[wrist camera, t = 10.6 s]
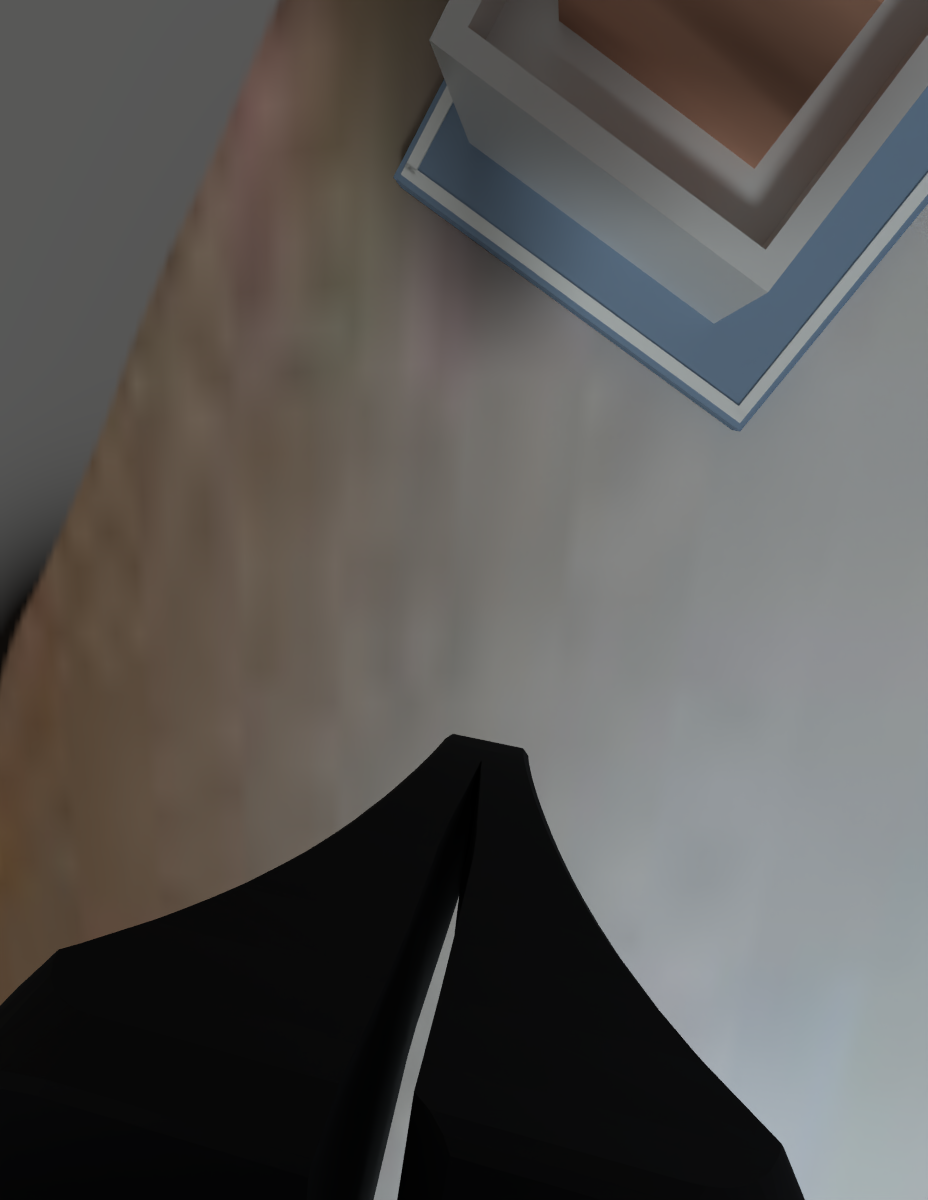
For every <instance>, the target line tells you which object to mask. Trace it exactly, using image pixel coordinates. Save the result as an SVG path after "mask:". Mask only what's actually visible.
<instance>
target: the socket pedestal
mask: <svg viewBox="0 0 928 1200" xmlns="http://www.w3.org/2000/svg"><path fill="white" fill-rule="evenodd" d="M429 41H430V43H431V46H432V49H433V51H434V54H435V56H436V59H437V61H438V64H439V67H440V69H441V72H442V74H443V77H444V79H445V82H446V84H447V87H448V90H449V92H450V95H451V97H452V100H453V102H454V105H455V108H456V110H457V113H458V115H459V118H460V120H461V123H462V125H463V128H464V131H465V133H466V136H467V138H468V141H469V143H470V144H472V145H473V146H474V147H476V148H477V149H478V150H480V151H481V152H482V153H484V154H485V155H486V156H488V157H489V158H491V159H492V160H493V161H495V162H496V163H497V164H499V165H500V166H501V167H503V168H504V169H505V170H507V171H508V172H509V173H511V174H512V175H514V176H515V177H516V178H518V179H519V180H520V181H522V182H523V183H524V184H526V185H527V186H528V187H530V188H531V189H532V190H534V191H535V192H537V193H538V194H539V195H541V196H542V197H543V198H545V199H546V200H547V201H549V202H550V203H551V204H553V205H554V206H555V207H557V208H558V209H559V210H561V211H562V212H564V213H565V214H566V215H568V216H569V217H570V218H572V219H573V220H574V221H576V222H577V223H578V224H580V225H581V226H582V227H584V228H585V229H587V230H588V231H589V232H591V233H592V234H593V235H595V236H596V237H597V238H599V239H600V240H601V241H603V242H604V243H605V244H607V245H608V246H609V247H611V248H612V249H614V250H615V251H616V252H618V253H619V254H620V255H622V256H623V257H624V258H626V259H627V260H628V261H630V262H631V263H632V264H634V265H635V266H637V267H638V268H639V269H641V270H642V271H643V272H645V273H646V274H647V275H649V276H650V277H651V278H653V279H654V280H655V281H657V282H658V283H660V284H661V285H662V286H664V287H665V288H666V289H668V290H669V291H670V292H672V293H673V294H674V295H676V296H677V297H678V298H680V299H681V300H682V301H684V302H685V303H687V304H688V305H689V306H691V307H692V308H693V309H695V310H696V311H697V312H699V313H700V314H701V315H703V316H704V317H705V318H707V319H708V320H710V321H711V322H712V323H716V322H718V321H719V320H721V319H723V318H725V317H726V316H728V315H730V314H732V313H733V312H735V311H737V310H738V309H740V308H742V307H744V306H745V305H747V304H749V303H751V302H752V301H754V300H756V299H758V298H759V297H761V296H763V295H764V294H766V293H768V292H769V290H770V289H771V288H772V287H773V285H774V284H775V283H776V281H777V280H778V279H779V277H780V276H781V275H782V274H783V272H784V271H785V270H786V268H787V267H788V266H789V265H790V263H791V262H792V261H793V259H794V258H795V257H796V255H797V254H798V253H799V252H800V250H801V249H802V248H803V246H804V245H805V244H806V243H807V241H808V240H809V239H810V237H811V236H812V235H813V233H814V232H815V231H816V230H817V228H818V227H819V226H820V224H821V223H822V222H823V221H824V219H825V218H826V217H827V215H828V214H829V213H830V211H831V210H832V209H833V208H834V206H835V205H836V204H837V202H838V201H839V200H840V199H841V197H842V196H843V195H844V193H845V192H846V191H847V190H848V188H849V187H850V186H851V184H852V183H853V182H854V180H855V179H856V178H857V177H858V175H859V174H860V173H861V171H862V170H863V169H864V168H865V166H866V165H867V164H868V162H869V161H870V160H871V158H872V157H873V156H874V155H875V153H876V152H877V151H878V149H879V148H880V147H881V146H882V144H883V143H884V142H885V140H886V139H887V138H888V136H889V135H890V134H891V133H892V131H893V130H894V129H895V127H896V126H897V125H898V124H899V122H900V121H901V120H902V118H903V117H904V116H905V114H906V113H907V112H908V111H909V109H910V108H911V107H912V105H913V104H914V103H915V102H916V100H917V99H918V98H919V96H920V95H921V94H922V92H923V91H924V90H925V89H926V87H927V86H928V0H884V1H883V3H882V4H881V5H880V7H879V8H878V9H877V10H876V12H875V13H874V14H873V16H872V17H871V18H870V20H869V21H868V22H867V23H866V25H865V26H864V27H863V29H862V30H861V31H860V33H859V34H858V35H857V36H856V38H855V39H854V40H853V42H852V43H851V44H850V46H849V47H848V48H847V49H846V51H845V52H844V53H843V55H842V56H841V57H840V58H839V60H838V61H837V62H836V64H835V65H834V66H833V68H832V69H831V70H830V71H829V73H828V74H827V75H826V77H825V78H824V79H823V81H822V82H821V83H820V84H819V86H818V87H817V88H816V90H815V91H814V92H813V94H812V95H811V96H810V97H809V99H808V100H807V101H806V103H805V104H804V105H803V106H802V108H801V109H800V110H799V112H798V113H797V114H796V116H795V117H794V118H793V119H792V121H791V122H790V123H789V125H788V126H787V127H786V129H785V130H784V131H783V132H782V134H781V135H780V136H779V138H778V139H777V140H776V142H775V143H774V144H773V145H772V147H771V148H770V149H769V151H768V152H767V153H766V154H765V156H764V157H763V158H762V160H761V161H760V162H759V164H758V165H757V166H756V167H755V169H754V168H753V167H751V166H750V165H749V164H747V163H746V162H745V161H743V160H742V159H741V158H739V157H738V156H737V155H736V154H734V153H733V152H732V151H730V150H729V149H728V148H726V147H725V146H724V145H722V144H721V143H720V142H718V141H717V140H716V139H714V138H713V137H712V136H710V135H709V134H708V133H707V132H705V131H704V130H703V129H701V128H700V127H699V126H697V125H696V124H695V123H693V122H692V121H691V120H689V119H688V118H687V117H685V116H684V115H683V114H681V113H680V112H679V111H677V110H676V109H675V108H674V107H672V106H671V105H670V104H668V103H667V102H666V101H664V100H663V99H662V98H660V97H659V96H658V95H656V94H655V93H654V92H652V91H651V90H650V89H648V88H647V87H646V86H645V85H643V84H642V83H641V82H639V81H638V80H637V79H635V78H634V77H633V76H631V75H630V74H629V73H627V72H626V71H625V70H623V69H622V68H621V67H619V66H618V65H617V64H615V63H614V62H613V61H612V60H610V59H609V58H608V57H606V56H605V55H604V54H602V53H601V52H600V51H598V50H597V49H596V48H594V47H593V46H592V45H590V44H589V43H588V42H586V41H585V40H584V39H583V38H581V37H580V36H579V35H577V34H576V33H575V32H573V31H572V30H571V29H569V28H568V27H567V26H565V25H564V24H563V23H561V22H560V21H559V9H558V0H449V1H448V3H447V5H446V7H445V9H444V11H443V13H442V15H441V17H440V19H439V21H438V23H437V25H436V27H435V29H434V31H433V33H432V35H431V37H430V39H429Z"/></svg>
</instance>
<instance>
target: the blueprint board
mask: <svg viewBox="0 0 928 1200" xmlns="http://www.w3.org/2000/svg"><path fill="white" fill-rule="evenodd" d="M394 179H395V180H396V181H397V183H398V184H399V185H400V186H401V188H403V189H404V190H405V191H407V192H408V193H409V194H411V195H412V196H413V197H415V198H416V199H418V200H419V201H420V202H422V203H423V204H424V205H426V206H427V207H429V208H430V209H431V210H433V211H434V212H435V213H437V214H438V215H439V216H441V217H442V218H444V219H445V220H446V221H448V222H449V223H450V224H452V225H453V226H454V227H456V228H457V229H459V230H460V231H461V232H463V233H464V234H465V235H467V236H468V237H469V238H471V239H472V240H474V241H475V242H476V243H478V244H479V245H480V246H482V247H483V248H484V249H486V250H487V251H489V252H490V253H491V254H493V255H494V256H495V257H497V258H498V259H499V260H501V261H502V262H504V263H505V264H506V265H508V266H509V267H510V268H512V269H513V270H515V271H516V272H517V273H519V274H520V275H521V276H523V277H524V278H525V279H527V280H528V281H530V282H531V283H532V284H534V285H535V286H536V287H538V288H539V289H540V290H542V291H543V292H545V293H546V294H547V295H549V296H550V297H551V298H553V299H554V300H555V301H557V302H558V303H560V304H561V305H562V306H564V307H565V308H566V309H568V310H569V311H570V312H572V313H573V314H575V315H576V316H577V317H579V318H580V319H581V320H583V321H584V322H585V323H587V324H588V325H590V326H591V327H592V328H594V329H595V330H596V331H598V332H599V333H601V334H602V335H603V336H605V337H606V338H607V339H609V340H610V341H611V342H613V343H614V344H616V345H617V346H618V347H620V348H621V349H622V350H624V351H625V352H626V353H628V354H629V355H631V356H632V357H633V358H635V359H636V360H637V361H639V362H640V363H641V364H643V365H644V366H646V367H647V368H648V369H650V370H651V371H652V372H654V373H655V374H656V375H658V376H659V377H661V378H662V379H663V380H665V381H666V382H667V383H669V384H670V385H671V386H673V387H674V388H676V389H677V390H678V391H680V392H681V393H682V394H684V395H685V396H687V397H688V398H689V399H691V400H692V401H693V402H695V403H696V404H697V405H699V406H700V407H702V408H703V409H704V410H706V411H707V412H708V413H710V414H711V415H712V416H714V417H715V418H717V419H718V420H719V421H721V422H722V423H723V424H725V425H726V426H727V427H729V428H730V429H732V430H735V431H741V430H742V428H743V427H744V426H745V425H746V424H747V422H748V421H749V420H750V419H751V417H752V416H753V415H754V414H755V413H756V411H757V410H758V409H759V408H760V407H761V405H762V404H763V403H764V402H765V400H766V399H767V398H768V397H769V396H770V394H771V393H772V392H773V391H774V390H775V388H776V387H777V386H778V385H779V383H780V382H781V381H782V380H783V379H784V377H785V376H786V375H787V374H788V373H789V371H790V370H791V369H792V368H793V367H794V365H795V364H796V363H797V362H798V360H799V359H800V358H801V357H802V356H803V354H804V353H805V352H806V351H807V350H808V348H809V347H810V346H811V345H812V343H813V342H814V341H815V340H816V339H817V337H818V336H819V335H820V334H821V333H822V331H823V330H824V329H825V328H826V326H827V325H828V324H829V323H830V322H831V320H832V319H833V318H834V317H835V316H836V314H837V313H838V312H839V311H840V309H841V308H842V307H843V306H844V305H845V303H846V302H847V301H848V300H849V299H850V297H851V296H852V295H853V294H854V293H855V291H856V290H857V289H858V288H859V286H860V285H861V284H862V283H863V282H864V280H865V279H866V278H867V277H868V276H869V274H870V273H871V272H872V271H873V269H874V268H875V267H876V266H877V265H878V263H879V262H880V261H881V260H882V259H883V257H884V256H885V255H886V254H887V252H888V251H889V250H890V249H891V248H892V246H893V245H894V244H895V243H896V242H897V240H898V239H899V238H900V237H901V235H902V234H903V233H904V232H905V231H906V229H907V228H908V227H909V226H910V225H911V223H912V222H913V221H914V220H915V219H916V217H917V216H918V215H919V214H920V212H921V211H922V210H923V209H924V208H925V206H926V205H927V204H928V86H927V87H926V89H925V90H924V91H923V92H922V94H921V95H920V96H919V98H918V99H917V100H916V102H915V103H914V104H913V105H912V107H911V108H910V109H909V111H908V112H907V113H906V114H905V116H904V117H903V118H902V120H901V121H900V122H899V124H898V125H897V126H896V127H895V129H894V130H893V131H892V133H891V134H890V135H889V136H888V138H887V139H886V140H885V142H884V143H883V144H882V146H881V147H880V148H879V149H878V151H877V152H876V153H875V155H874V156H873V157H872V158H871V160H870V161H869V162H868V164H867V165H866V166H865V168H864V169H863V170H862V171H861V173H860V174H859V175H858V177H857V178H856V179H855V180H854V182H853V183H852V184H851V186H850V187H849V188H848V190H847V191H846V192H845V193H844V195H843V196H842V197H841V199H840V200H839V201H838V202H837V204H836V205H835V206H834V208H833V209H832V210H831V211H830V213H829V214H828V215H827V217H826V218H825V219H824V221H823V222H822V223H821V224H820V226H819V227H818V228H817V230H816V231H815V232H814V233H813V235H812V236H811V237H810V239H809V240H808V241H807V243H806V244H805V245H804V246H803V248H802V249H801V250H800V252H799V253H798V254H797V255H796V257H795V258H794V259H793V261H792V262H791V263H790V265H789V266H788V267H787V268H786V270H785V271H784V272H783V274H782V275H781V276H780V277H779V279H778V280H777V281H776V283H775V284H774V285H773V287H772V288H771V289H770V290H769V292H768V293H766V294H764V295H763V296H761V297H759V298H758V299H756V300H754V301H752V302H751V303H749V304H747V305H745V306H744V307H742V308H740V309H738V310H737V311H735V312H733V313H732V314H730V315H728V316H726V317H725V318H723V319H721V320H719V321H718V322H716V323H712V322H711V321H710V320H708V319H707V318H705V317H704V316H703V315H701V314H700V313H699V312H697V311H696V310H695V309H693V308H692V307H691V306H689V305H688V304H687V303H685V302H684V301H682V300H681V299H680V298H678V297H677V296H676V295H674V294H673V293H672V292H670V291H669V290H668V289H666V288H665V287H664V286H662V285H661V284H660V283H658V282H657V281H655V280H654V279H653V278H651V277H650V276H649V275H647V274H646V273H645V272H643V271H642V270H641V269H639V268H638V267H637V266H635V265H634V264H632V263H631V262H630V261H628V260H627V259H626V258H624V257H623V256H622V255H620V254H619V253H618V252H616V251H615V250H614V249H612V248H611V247H609V246H608V245H607V244H605V243H604V242H603V241H601V240H600V239H599V238H597V237H596V236H595V235H593V234H592V233H591V232H589V231H588V230H587V229H585V228H584V227H582V226H581V225H580V224H578V223H577V222H576V221H574V220H573V219H572V218H570V217H569V216H568V215H566V214H565V213H564V212H562V211H561V210H559V209H558V208H557V207H555V206H554V205H553V204H551V203H550V202H549V201H547V200H546V199H545V198H543V197H542V196H541V195H539V194H538V193H537V192H535V191H534V190H532V189H531V188H530V187H528V186H527V185H526V184H524V183H523V182H522V181H520V180H519V179H518V178H516V177H515V176H514V175H512V174H511V173H509V172H508V171H507V170H505V169H504V168H503V167H501V166H500V165H499V164H497V163H496V162H495V161H493V160H492V159H491V158H489V157H488V156H486V155H485V154H484V153H482V152H481V151H480V150H478V149H477V148H476V147H474V146H473V145H472V144H470V143H469V141H468V138H467V136H466V133H465V131H464V128H463V125H462V123H461V120H460V118H459V115H458V113H457V110H456V108H455V105H454V102H453V100H452V97H451V95H450V92H449V90H448V87H447V84H446V82H445V79H444V80H443V82H442V84H441V86H440V88H439V90H438V92H437V94H436V96H435V98H434V100H433V102H432V104H431V106H430V107H429V109H428V111H427V113H426V115H425V117H424V119H423V121H422V123H421V125H420V127H419V129H418V131H417V133H416V135H415V136H414V138H413V140H412V142H411V144H410V146H409V148H408V150H407V152H406V154H405V156H404V158H403V160H402V162H401V164H400V166H399V167H398V169H397V171H396V173H395V175H394Z"/></svg>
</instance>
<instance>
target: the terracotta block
mask: <svg viewBox="0 0 928 1200" xmlns="http://www.w3.org/2000/svg"><path fill="white" fill-rule="evenodd" d="M883 1H884V0H558V9H559V21H560V22H561V23H563V24H564V25H565V26H567V27H568V28H569V29H571V30H572V31H573V32H575V33H576V34H577V35H579V36H580V37H581V38H583V39H584V40H585V41H586V42H588V43H589V44H590V45H592V46H593V47H594V48H596V49H597V50H598V51H600V52H601V53H602V54H604V55H605V56H606V57H608V58H609V59H610V60H612V61H613V62H614V63H615V64H617V65H618V66H619V67H621V68H622V69H623V70H625V71H626V72H627V73H629V74H630V75H631V76H633V77H634V78H635V79H637V80H638V81H639V82H641V83H642V84H643V85H645V86H646V87H647V88H648V89H650V90H651V91H652V92H654V93H655V94H656V95H658V96H659V97H660V98H662V99H663V100H664V101H666V102H667V103H668V104H670V105H671V106H672V107H674V108H675V109H676V110H677V111H679V112H680V113H681V114H683V115H684V116H685V117H687V118H688V119H689V120H691V121H692V122H693V123H695V124H696V125H697V126H699V127H700V128H701V129H703V130H704V131H705V132H707V133H708V134H709V135H710V136H712V137H713V138H714V139H716V140H717V141H718V142H720V143H721V144H722V145H724V146H725V147H726V148H728V149H729V150H730V151H732V152H733V153H734V154H736V155H737V156H738V157H739V158H741V159H742V160H743V161H745V162H746V163H747V164H749V165H750V166H751V167H753V168H754V169H755V167H756V166H757V165H758V164H759V162H760V161H761V160H762V158H763V157H764V156H765V154H766V153H767V152H768V151H769V149H770V148H771V147H772V145H773V144H774V143H775V142H776V140H777V139H778V138H779V136H780V135H781V134H782V132H783V131H784V130H785V129H786V127H787V126H788V125H789V123H790V122H791V121H792V119H793V118H794V117H795V116H796V114H797V113H798V112H799V110H800V109H801V108H802V106H803V105H804V104H805V103H806V101H807V100H808V99H809V97H810V96H811V95H812V94H813V92H814V91H815V90H816V88H817V87H818V86H819V84H820V83H821V82H822V81H823V79H824V78H825V77H826V75H827V74H828V73H829V71H830V70H831V69H832V68H833V66H834V65H835V64H836V62H837V61H838V60H839V58H840V57H841V56H842V55H843V53H844V52H845V51H846V49H847V48H848V47H849V46H850V44H851V43H852V42H853V40H854V39H855V38H856V36H857V35H858V34H859V33H860V31H861V30H862V29H863V27H864V26H865V25H866V23H867V22H868V21H869V20H870V18H871V17H872V16H873V14H874V13H875V12H876V10H877V9H878V8H879V7H880V5H881V4H882V3H883Z"/></svg>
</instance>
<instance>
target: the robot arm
mask: <svg viewBox="0 0 928 1200" xmlns="http://www.w3.org/2000/svg"><path fill="white" fill-rule="evenodd" d="M458 897H459V902H458V910H457V919H456V927H455V936H454V940H453V944H452V948H451V952H450V956H449V960H448V964H447V968H446V972H445V976H444V980H443V984H442V988H441V992H440V996H439V1000H438V1003H437V1007H436V1011H435V1015H434V1019H433V1022H432V1026H431V1030H430V1034H429V1038H428V1042H427V1045H426V1049H425V1053H424V1057H423V1061H422V1064H421V1068H420V1072H419V1076H418V1079H417V1083H416V1087H415V1090H414V1096H413V1102H412V1109H411V1115H410V1122H409V1128H408V1135H407V1141H406V1147H405V1154H404V1160H403V1167H402V1173H401V1180H400V1186H399V1193H398V1199H397V1200H805V1199H804V1197H803V1194H802V1192H801V1189H800V1187H799V1184H798V1182H797V1179H796V1177H795V1174H794V1172H793V1169H792V1167H791V1164H790V1162H789V1160H788V1157H787V1155H786V1152H785V1150H784V1147H783V1146H782V1144H781V1143H780V1142H779V1141H778V1140H777V1139H776V1137H775V1136H774V1135H773V1134H772V1133H771V1132H770V1131H769V1130H768V1129H767V1128H766V1127H765V1126H764V1125H763V1124H762V1123H761V1122H760V1121H759V1120H758V1119H757V1118H756V1117H755V1116H754V1115H753V1114H752V1112H751V1111H750V1110H749V1109H748V1108H747V1107H746V1106H745V1105H744V1104H743V1103H742V1102H741V1101H740V1100H739V1099H738V1098H737V1097H736V1096H735V1095H734V1094H733V1093H732V1092H731V1091H730V1090H729V1088H728V1087H727V1086H726V1085H725V1084H724V1083H723V1082H722V1081H721V1080H720V1079H719V1078H718V1077H717V1076H716V1075H715V1074H714V1073H713V1072H712V1071H711V1070H710V1069H709V1068H708V1067H707V1066H706V1064H705V1063H704V1062H703V1061H702V1060H701V1059H700V1058H699V1057H698V1056H697V1054H696V1053H695V1052H694V1051H693V1050H692V1049H691V1048H690V1046H689V1045H688V1044H687V1043H686V1042H685V1040H684V1039H683V1038H682V1037H681V1036H680V1035H679V1033H678V1032H677V1031H676V1030H675V1029H674V1027H673V1026H672V1025H671V1024H670V1023H669V1022H668V1020H667V1019H666V1018H665V1017H664V1016H663V1014H662V1013H661V1012H660V1011H659V1010H658V1008H657V1007H656V1006H655V1004H654V1003H653V1002H652V1000H651V999H650V998H649V996H648V995H647V994H646V992H645V991H644V989H643V988H642V987H641V985H640V984H639V983H638V981H637V980H636V979H635V977H634V976H633V975H632V973H631V972H630V971H629V969H628V968H627V967H626V965H625V964H624V963H623V961H622V960H621V959H620V957H619V956H618V954H617V953H616V951H615V950H614V948H613V946H612V945H611V943H610V942H609V940H608V939H607V937H606V936H605V934H604V933H603V931H602V929H601V928H600V926H599V925H598V923H597V921H596V920H595V918H594V916H593V915H592V913H591V911H590V910H589V908H588V906H587V905H586V903H585V901H584V899H583V898H582V896H581V894H580V892H579V890H578V888H577V887H576V885H575V883H574V881H573V879H572V877H571V875H570V873H569V871H568V869H567V867H566V865H565V863H564V861H563V859H562V856H561V854H560V852H559V850H558V848H557V846H556V843H555V841H554V839H553V836H552V834H551V831H550V829H549V826H548V824H547V821H546V819H545V816H544V813H543V811H542V808H541V805H540V802H539V800H538V797H537V793H536V790H535V787H534V783H533V780H532V776H531V771H530V766H529V760H528V755H527V753H526V752H525V750H524V749H523V748H519V747H514V746H509V745H504V744H499V743H494V742H490V741H485V740H480V739H475V738H470V737H466V736H461V735H456V734H452V735H450V736H449V737H447V738H446V739H445V740H444V741H443V742H442V743H441V744H440V745H439V747H438V748H437V749H436V750H435V751H434V752H433V753H432V754H431V755H430V756H429V757H428V758H427V759H426V760H425V761H424V762H423V763H422V764H421V765H420V766H419V767H418V768H417V769H416V770H415V771H414V772H412V773H411V774H410V775H409V776H408V777H407V778H406V779H404V780H403V781H402V782H401V783H400V784H399V785H398V786H397V787H395V788H394V789H393V790H392V791H391V792H390V793H388V794H387V795H386V796H385V797H384V798H382V799H381V800H380V801H378V802H377V803H376V804H374V805H373V806H372V807H371V808H369V809H368V810H367V811H365V812H364V813H363V814H361V815H360V816H359V817H358V818H356V819H355V820H354V821H352V822H351V823H349V824H348V825H346V826H345V827H343V828H342V829H341V830H339V831H338V832H336V833H335V834H333V835H332V836H330V837H329V838H327V839H325V840H324V841H322V842H321V843H319V844H317V845H316V846H314V847H312V848H311V849H309V850H308V851H306V852H304V853H302V854H301V855H299V856H297V857H295V858H293V859H292V860H290V861H288V862H286V863H284V864H282V865H280V866H278V867H276V868H274V869H272V870H270V871H268V872H267V873H265V874H263V875H261V876H259V877H257V878H255V879H253V880H251V881H249V882H247V883H245V884H242V885H240V886H238V887H236V888H233V889H231V890H229V891H226V892H224V893H222V894H219V895H217V896H215V897H212V898H210V899H208V900H205V901H202V902H200V903H197V904H195V905H192V906H190V907H187V908H185V909H182V910H180V911H177V912H174V913H172V914H169V915H166V916H163V917H161V918H158V919H155V920H152V921H149V922H146V923H143V924H140V925H137V926H134V927H130V928H127V929H124V930H121V931H118V932H115V933H112V934H109V935H105V936H102V937H99V938H96V939H93V940H90V941H87V942H84V943H80V944H77V945H73V946H70V947H66V948H63V949H59V950H58V951H57V952H56V953H55V954H53V955H52V956H51V957H50V958H49V959H48V960H47V961H46V962H45V963H44V964H43V965H42V966H41V967H40V968H38V969H37V970H36V971H35V972H34V973H33V974H32V975H31V976H30V977H29V978H28V979H27V980H25V981H24V982H23V983H22V984H21V985H20V986H19V987H18V988H17V989H16V990H15V991H14V992H13V993H12V994H11V995H10V996H9V997H8V998H7V999H6V1000H5V1001H4V1002H3V1004H2V1005H1V1006H0V1200H373V1199H374V1195H375V1191H376V1187H377V1182H378V1178H379V1174H380V1170H381V1165H382V1161H383V1157H384V1153H385V1148H386V1144H387V1140H388V1136H389V1131H390V1127H391V1123H392V1119H393V1115H394V1110H395V1106H396V1102H397V1098H398V1094H399V1090H400V1085H401V1081H402V1077H403V1073H404V1069H405V1064H406V1060H407V1056H408V1053H409V1049H410V1046H411V1042H412V1039H413V1035H414V1032H415V1028H416V1025H417V1022H418V1019H419V1016H420V1013H421V1010H422V1007H423V1004H424V1000H425V997H426V994H427V991H428V988H429V985H430V982H431V979H432V976H433V973H434V970H435V967H436V964H437V961H438V958H439V955H440V952H441V949H442V946H443V943H444V940H445V937H446V934H447V931H448V928H449V925H450V922H451V919H452V915H453V912H454V909H455V906H456V903H457V900H458Z"/></svg>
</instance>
